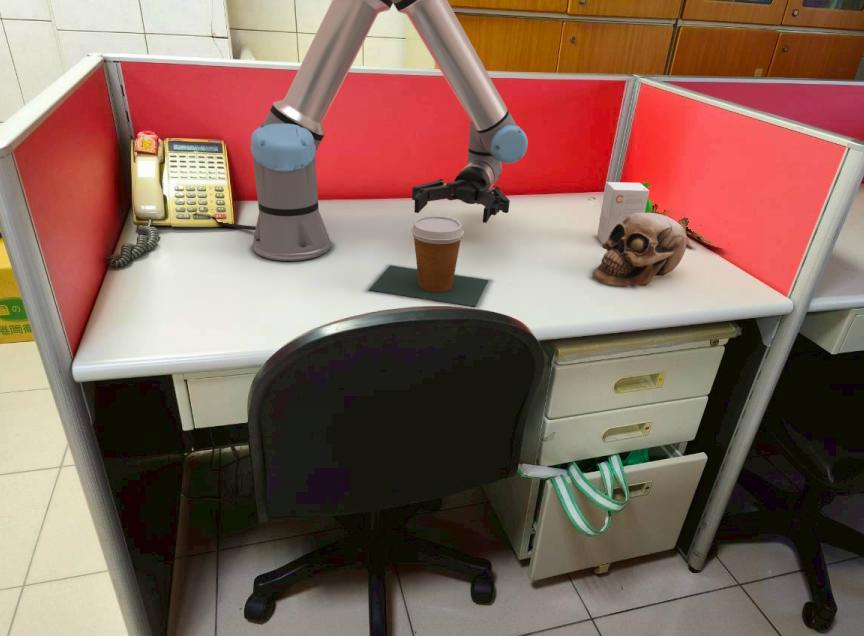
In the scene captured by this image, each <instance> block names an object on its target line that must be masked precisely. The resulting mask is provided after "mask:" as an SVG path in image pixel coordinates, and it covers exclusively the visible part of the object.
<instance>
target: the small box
mask: <svg viewBox="0 0 864 636" xmlns="http://www.w3.org/2000/svg"><path fill="white" fill-rule="evenodd" d="M649 195H650V190H649V189H648V187H647V188H646V186H643V183H641V182H623V181H622V182H621V181H620V182H619V181H606V182H605V186H604V191H603V198H602V204H601V209H600V215H599V220H598V221H599V222H598V228H597V234H596V238H597V239H598V241H600V242H601V244H602V245H603V244H604V243H605V242H606V241H607V240H608V238H609V236H610V234H611V232H612V230H613V229H614V227H615V226H616V225H617V224H619V223H622V222H623V221H624V220H625V219H626V218H627V217H628V216H630V215H631V214H634V213H645V209H646V204H647V200H649Z"/></svg>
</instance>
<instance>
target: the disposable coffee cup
mask: <svg viewBox="0 0 864 636" xmlns="http://www.w3.org/2000/svg"><path fill="white" fill-rule="evenodd" d="M410 232H411V234H412V237H413V242H414V253H415V261H416V269H417V271H418V280H419V286H420V288H422V289H424V290H426V291H430V292H444V291H447V290H449V289H451V288H452V284H453V279H454V275H456V274H455V273H456V268H457V262H458V257H459V251H460V246H461V240H462V238H463V236H464V234H465V231H464V229H463V225H462V222H461V221H459V220H457V219H455V218H452V217H449V216H441V215H429V216H422V217H419V218H416V219H415V220H414V221H413V225H412V227H411V229H410Z"/></svg>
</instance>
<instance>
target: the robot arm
mask: <svg viewBox="0 0 864 636" xmlns="http://www.w3.org/2000/svg"><path fill="white" fill-rule="evenodd" d="M392 6H394V7H395V9H396V10H397V12H398V13H400V14H403V15H406V16H407V18H408V19H409V21H410V23H411V25H412V26H413V28H414V29H415V31H416V34H418V36H419V38H420V39H421V41H422V42H423V44H424V46H425V48H426V49H427V51H428V52H429V54H430V56H431V58H432V59H433V61H434V62H435V64H436V66H437V67H438V69H439V71H440V72H441V74H442V75H443V77H444V79H445V81H446V82H447V84H448V86H449V87H450V89H451V90H452V93H454V96H455V97H456V99H457V100H458V102H459V104H460V105H461V107H462V108H463V110H464V112H465V114H466V115H467V117H468V118H469V135H468V150H467V164H466V166H464V167H463V168H462V169H461V171H460V172H459V173H458V174H456V177H455V178H454V181H451V182H446V183H445V181H444V179H443V178H438V179H436V180H435V181H431V182H427V183H423V184H419V185H414V186H412V187H411V200H413V201H414V214H419V213H420V212H421V211H423V209H424V208H425V207H426V206H427V205H428V202H433V201H439V200H448V201H455V200H456V201H457V200H458V201H461V202H462V203H465V204H467V205H476V204H477V205H481V206H483V207H484V208H483V214H482V223H485V224H487V223H488V221H489V220H490V218H491V216H496V215H497V214H499V213H500V211H501V212H502V213H503V214H508V213H509V212H510V201H511V200H510V199H509V198H508V197H507V196H506V195H505V194H504V192H503V191H502V190H501V187H500V186H495V187H493V186H494V185H495V184H497V182H498V181H499V178H501V174H502V170H503V165H502V163H503V164H508V165H510V164H514V163H517V162H518V161H520V160H521V159H522V158H523V157H524V156H525V154H526V153H527V150H528V145H529V142H528V141H529V140H528V137H527V135H526V133H525V132H524V131H523V129H522V127H520V126H519V125H517V124H516V121H515V120H514V118H513V115H512V114H511V113H510V111H509V109H508V107H507V105H506V103H505V101H504V100H503V98H502V96H501V95H500V92H499V91H498V89H497V87H496V86H495V84H494V82H493V80H492V78H491V76H490V75H489V73H488V71H487V69H486V68H485V66H484V64H483V62H482V61H481V58H480V56H479V55H478V53H477V51H476V49H475V47H474V46H473V44H472V42H471V40H470V39H469V37H468V35H467V34H466V31H465V30H464V28H463V26H462V24H461V22H460V20H459V19H458V17H457V15H456V14H455V12H454V9H453V8H452V6H451V5H450V3H449V1H448V0H331V2H330V3H329V6H328V9H327V11H326V13H325V14H324V16H323V19H322V21H321V23H320V25H319V27H318V29H317V31H316V34H315V35H314V37H313V39H312V41H311V43H310V45H309V47H308V50H307V52H306V53H305V56H304V57H303V59H302V61H301V64H300V66H299V68H298V70H297V72H296V75H295V77H294V79H293V80H292V82H291V84H290V87H289V89H288V91H287V92H286V95H285V97H284V98H283V99H281V100H277V101H273V103H272V105H271V107H270V109H269V111H268V113H267V116H266V117H265V120H264V122H262V123H261V125H260V126H259V127H257V128H256V129H255V130H254V131H253V132H252V134H251V138H250V142H251V143H250V152H251V155H252V162H253V170H254V178H255V179H254V180H255V187H256V188H255V189H256V196H257V197H256V198H257V204H258V215H257V219H256V224H255V225H246V224H245V225H244V224H240V223H239V224H238V223H232V224H229V223H230V222H227V223H223V222H216V223H217V224H219V225H220V226H223V227H227V228H231V229H238V230H239V229H240V230H247V231H254V234H253V240H252V244H253V250H254V253H256V254H257V255H258V256H260V257H262V258H265V259H269V260H271V261H272V260H273V261H282V262H297V261H306V260H312V259H314V258H317V257H321V256H322V255H325V254H326V253H327V252H328V251H329V250H330V248H331V241H330V235H329V232H328V230H327V228H326V225H325V223H324V220H323V218H322V215H321V213H320V210H319V193H318V179H317V163H316V154H317V151H318V149H319V147H320V145H321V143H322V141H323V139H324V137H325V135H326V131H325V130H326V129H325V128H324V127H325V126H324V120H325V118H326V116H327V114H328V112H329V111H330V108H331V107H332V104H333V103H334V101H335V99H336V97H337V95H338V93H339V91H340V89H341V87H342V85H343V84H344V81H345V79H346V77H347V75H348V74H349V72H350V70H351V68H352V66H353V64H354V62H355V61H356V59H357V56H358V54H359V53H360V51H361V49H362V46H363V45H364V43H365V41H366V39H367V37H368V35H369V33H370V31H371V29H372V27H373V26H374V23H375V21H376V20H377V17H378V16H379V14H380V13H383V12H387V11H390V10H391V8H392Z"/></svg>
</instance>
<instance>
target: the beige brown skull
mask: <svg viewBox="0 0 864 636" xmlns="http://www.w3.org/2000/svg"><path fill="white" fill-rule="evenodd" d="M678 222H679V221H678ZM678 222H677V221H676V220H675V219H673V218H671V217H669V216H667V215H663V214H659V213H658V214H656V213H655V212H651V213H634V214H631V215H630V216H628V217H627V218H626V219H625V220H624V221H623V222H622V223H619V224H617V225H616V226H615V227H614V229H613V230H612V232H611V234H610V236H609V238H608V240H607V241H606V242H605V243H604V244H602V249H604V250H606V252H604V254H603V256H602V259H601V261H600V262H601V263H600V264H599V265H598V266H597V267H596V269H595V270H594V271H593V273H592V278H593V279H594V280H596V281H597V282H600V283H602V284H606V285H610V286H617V287H618V286H620V287H624V286H630V287H633V286H641V287H646V286H648V285H649V284H650V283H651V282H652V280H653V279H654V278H655V277H664V276H666V275H668V274H669V273H671V272H672V271H674V269H676V267H678V265H679V264H680V263H681V261H682V259H683V257H684V256H685V253H686V249H687V246H686V235H687V234H686V235H685V231H684V229H683V227H682V226H681V225H680V224H679V223H678Z"/></svg>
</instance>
